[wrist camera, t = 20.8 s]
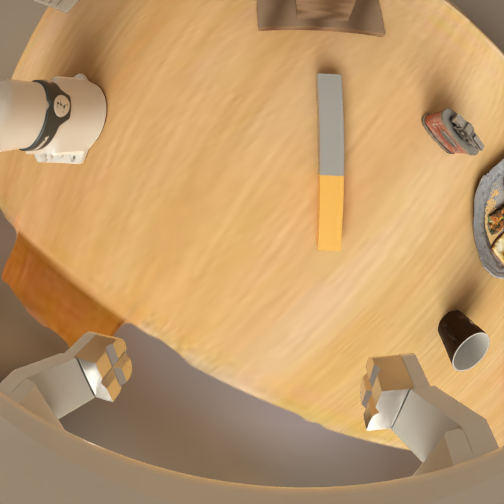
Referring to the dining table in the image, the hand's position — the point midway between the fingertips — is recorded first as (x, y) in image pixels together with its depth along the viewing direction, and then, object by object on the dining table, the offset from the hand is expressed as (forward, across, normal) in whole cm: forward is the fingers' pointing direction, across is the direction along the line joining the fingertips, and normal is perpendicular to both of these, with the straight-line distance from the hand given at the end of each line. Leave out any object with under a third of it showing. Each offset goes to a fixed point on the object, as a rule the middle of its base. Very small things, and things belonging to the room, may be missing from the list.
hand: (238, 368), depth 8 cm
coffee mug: (+37, -34, +22) cm, 55 cm away
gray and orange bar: (+37, -7, -6) cm, 38 cm away
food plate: (+38, -46, 0) cm, 59 cm away
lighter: (+37, -26, -12) cm, 47 cm away
